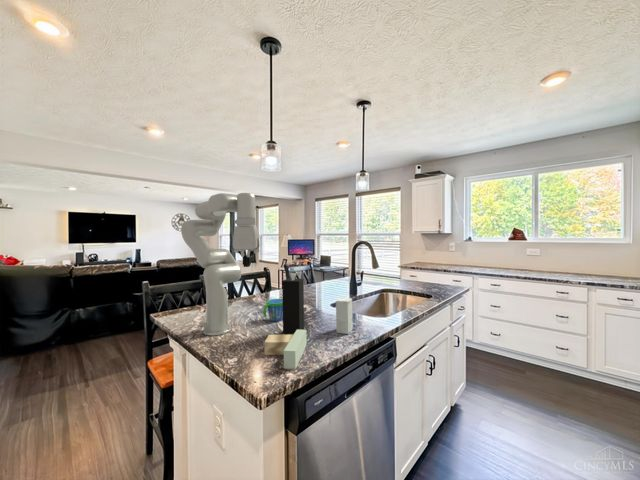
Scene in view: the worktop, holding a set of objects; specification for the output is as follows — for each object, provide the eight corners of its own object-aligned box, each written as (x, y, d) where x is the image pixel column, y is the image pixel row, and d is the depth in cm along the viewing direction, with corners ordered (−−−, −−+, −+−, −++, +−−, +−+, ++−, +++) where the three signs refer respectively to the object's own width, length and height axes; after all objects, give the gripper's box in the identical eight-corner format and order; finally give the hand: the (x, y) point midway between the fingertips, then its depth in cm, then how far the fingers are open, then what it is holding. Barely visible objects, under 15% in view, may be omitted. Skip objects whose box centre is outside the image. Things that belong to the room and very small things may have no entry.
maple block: (264, 355, 100) (264, 342, 100) (268, 346, 108) (268, 334, 108) (291, 355, 100) (291, 342, 100) (293, 346, 108) (293, 334, 108)
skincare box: (348, 334, 120) (348, 301, 120) (335, 333, 123) (335, 300, 123) (353, 328, 128) (352, 297, 128) (341, 327, 130) (340, 296, 130)
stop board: (283, 368, 90) (283, 350, 90) (297, 343, 110) (296, 329, 110) (295, 369, 89) (295, 351, 89) (306, 344, 110) (306, 329, 110)
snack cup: (268, 325, 135) (268, 305, 135) (258, 320, 143) (258, 301, 143) (294, 319, 145) (293, 300, 145) (283, 314, 153) (283, 297, 153)
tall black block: (299, 337, 118) (298, 273, 118) (282, 336, 119) (281, 273, 119) (304, 331, 125) (303, 271, 125) (288, 330, 127) (287, 271, 127)
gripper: (225, 222, 109) (225, 267, 110) (260, 222, 108) (260, 267, 108) (233, 223, 117) (233, 265, 117) (266, 223, 115) (266, 265, 115)
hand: (246, 266), depth 112 cm, fingers closed
